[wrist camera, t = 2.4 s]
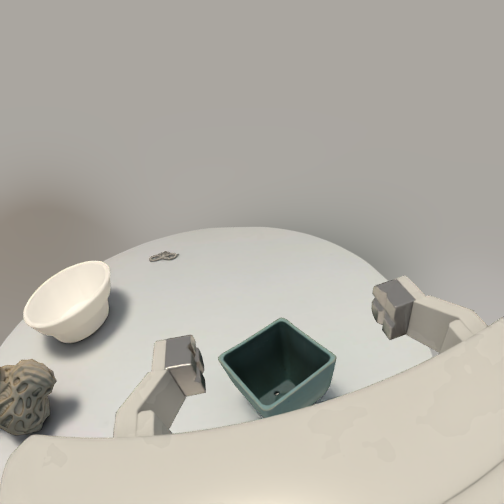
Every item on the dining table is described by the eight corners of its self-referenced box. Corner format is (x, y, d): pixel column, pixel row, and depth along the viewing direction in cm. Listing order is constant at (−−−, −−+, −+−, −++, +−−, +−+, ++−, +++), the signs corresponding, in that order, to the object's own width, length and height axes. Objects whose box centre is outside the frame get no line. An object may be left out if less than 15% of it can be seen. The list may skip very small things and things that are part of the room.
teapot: (78, 379, 39) (27, 309, 32) (82, 435, 30) (12, 367, 22) (-3, 406, 33) (-54, 348, 26) (-8, 455, 24) (-72, 397, 16)
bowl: (35, 369, 42) (11, 338, 38) (54, 306, 59) (38, 278, 55) (126, 343, 46) (104, 307, 42) (127, 280, 64) (114, 249, 59)
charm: (146, 260, 69) (151, 252, 72) (146, 261, 69) (152, 254, 72) (175, 257, 67) (180, 249, 70) (176, 259, 68) (180, 251, 71)
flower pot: (234, 399, 34) (215, 356, 30) (289, 362, 38) (282, 315, 33) (277, 447, 27) (264, 412, 23) (336, 402, 31) (338, 357, 26)
